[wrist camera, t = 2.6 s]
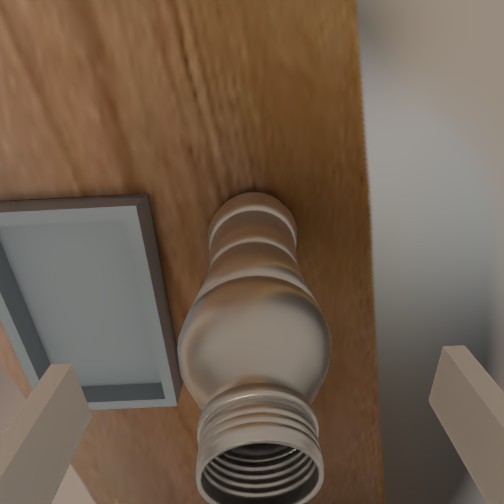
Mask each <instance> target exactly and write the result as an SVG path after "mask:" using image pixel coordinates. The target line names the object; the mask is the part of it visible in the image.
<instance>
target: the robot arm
mask: <svg viewBox="0 0 504 504" xmlns="http://www.w3.org/2000/svg"><path fill="white" fill-rule="evenodd" d="M428 401H429V403H430V405H431V407H432V408H433V410H434V412H435V414H436V415H437V417H438V419H439V420H440V422H441V424H442V426H443V427H444V429H445V431H446V433H447V434H448V436H449V438H450V440H451V441H452V443H453V445H454V447H455V449H456V450H457V452H458V454H459V455H460V457H461V459H462V461H463V463H464V464H465V466H466V468H467V470H468V471H469V473H470V475H471V477H472V478H473V480H474V482H475V484H476V485H477V487H478V489H479V491H480V492H481V494H482V496H483V498H484V499H485V501H486V503H487V504H504V392H503V391H502V390H501V388H500V387H499V386H498V385H497V384H496V382H495V381H494V380H493V379H492V378H491V376H489V374H488V373H487V372H486V371H485V369H484V368H483V367H482V366H481V364H480V363H479V362H478V361H477V360H476V359H475V357H474V356H473V355H472V354H471V352H470V351H469V350H468V349H467V348H466V346H464V345H461V346H443V347H442V351H441V355H440V359H439V363H438V366H437V370H436V374H435V377H434V381H433V385H432V389H431V392H430V396H429V400H428ZM91 417H92V414H91V411H90V409H89V406H88V403H87V401H86V398H85V396H84V393H83V390H82V388H81V385H80V383H79V380H78V377H77V375H76V372H75V370H74V367H73V364H72V363H70V364H51V365H50V366H49V368H48V369H47V370H46V372H45V373H44V375H43V376H42V378H41V379H40V380H39V382H38V383H37V385H36V386H35V388H34V389H33V390H32V392H31V393H30V395H29V396H28V398H27V399H26V400H25V402H24V403H23V405H22V406H21V408H20V409H19V410H18V412H17V413H16V415H15V416H14V418H13V419H12V420H11V422H10V423H9V425H8V426H7V428H6V429H5V430H4V432H3V433H2V435H1V436H0V504H51V503H52V501H53V499H54V497H55V495H56V492H57V490H58V488H59V486H60V484H61V482H62V480H63V477H64V475H65V473H66V471H67V469H68V467H69V465H70V462H71V460H72V458H73V456H74V454H75V452H76V450H77V447H78V445H79V443H80V441H81V439H82V437H83V435H84V432H85V430H86V428H87V426H88V424H89V422H90V420H91Z"/></svg>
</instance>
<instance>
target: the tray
mask: <svg viewBox="0 0 504 504" xmlns="http://www.w3.org/2000/svg"><path fill="white" fill-rule="evenodd" d="M0 321H1V323H2V325H3V327H4V330H5V332H6V334H7V336H8V338H9V340H10V343H11V345H12V347H13V349H14V351H15V353H16V356H17V358H18V360H19V362H20V364H21V366H22V369H23V371H24V373H25V375H26V377H27V379H28V382H29V384H30V386H31V388H32V390H33V389H34V388H35V386H36V385H37V383H38V382H39V380H40V379H41V378H42V376H43V375H44V373H45V372H46V370H47V369H48V368H49V366H50V365H51V364H70V363H72V364H73V367H74V370H75V372H76V375H77V377H78V380H79V383H80V385H81V388H82V390H83V393H84V396H85V398H86V401H87V403H88V406H89V409H90V410H100V409H122V408H143V407H165V406H177V405H178V401H179V396H180V392H181V387H182V383H183V380H182V377H181V373H180V367H179V360H178V354H177V348H176V343H175V338H174V332H173V327H172V322H171V317H170V311H169V306H168V301H167V295H166V290H165V285H164V279H163V274H162V269H161V264H160V258H159V253H158V248H157V242H156V237H155V232H154V226H153V221H152V216H151V210H150V205H149V200H148V195H147V194H131V195H112V196H92V197H73V198H54V199H34V200H15V201H0Z"/></svg>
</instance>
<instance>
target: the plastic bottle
mask: <svg viewBox="0 0 504 504" xmlns="http://www.w3.org/2000/svg"><path fill="white" fill-rule="evenodd" d="M296 246H297V228H296V223H295V220H294V218H293V215H292V214H291V212H290V211H289V210H288V208H287V207H286V206H285V205H284V204H282V203H281V202H280V201H279V200H278V199H276V198H274V197H273V196H271V195H268V194H265V193H259V192H248V193H243V194H240V195H237V196H235V197H233V198H231V199H230V200H228V201H227V202H226V203H225V204H224V205H223V206H222V207H221V208H220V209H219V210H218V211H217V212H216V214H215V215H214V217H213V219H212V220H211V223H210V226H209V231H208V247H209V254H210V260H209V269H208V272H207V275H206V278H205V281H204V284H203V286H202V288H201V290H200V291H199V293H198V295H197V297H196V299H195V301H194V303H193V305H192V307H191V308H190V310H189V312H188V314H187V316H186V319H185V322H184V324H183V326H182V329H181V332H180V335H179V338H178V347H177V352H178V360H179V367H180V373H181V377H182V380H183V382H184V384H185V386H186V388H187V390H188V391H189V393H190V394H191V396H192V397H193V399H194V401H195V402H196V403H197V405H198V406H199V407H200V408H201V410H202V412H201V414H200V417H199V423H198V430H197V441H198V445H199V448H198V457H197V465H196V472H195V474H196V485H197V489H198V491H199V493H200V495H201V496H202V497H203V498H204V499H205V500H206V501H207V502H208V503H210V504H304V503H306V502H308V501H309V500H310V499H311V498H313V497H314V496H315V495H316V494H317V492H318V491H319V490H320V488H321V486H322V484H323V481H324V464H323V459H322V455H321V450H320V446H319V441H318V436H319V427H318V422H317V418H316V413H315V410H314V408H313V406H312V404H311V403H312V401H313V400H314V398H315V397H316V395H317V393H318V391H319V389H320V387H321V385H322V383H323V381H324V379H325V377H326V374H327V371H328V369H329V362H330V352H331V335H330V329H329V327H328V324H327V322H326V320H325V317H324V315H323V313H322V311H321V309H320V307H319V305H318V304H317V302H316V300H315V298H314V297H313V295H312V293H311V292H310V290H309V288H308V287H307V285H306V283H305V282H304V280H303V277H302V274H301V272H300V270H299V267H298V264H297V259H296Z"/></svg>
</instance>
